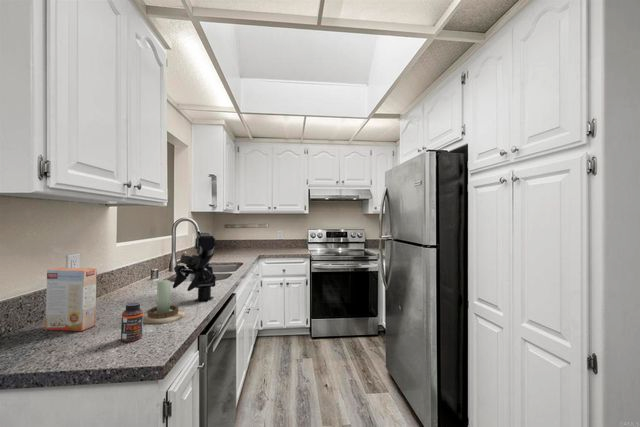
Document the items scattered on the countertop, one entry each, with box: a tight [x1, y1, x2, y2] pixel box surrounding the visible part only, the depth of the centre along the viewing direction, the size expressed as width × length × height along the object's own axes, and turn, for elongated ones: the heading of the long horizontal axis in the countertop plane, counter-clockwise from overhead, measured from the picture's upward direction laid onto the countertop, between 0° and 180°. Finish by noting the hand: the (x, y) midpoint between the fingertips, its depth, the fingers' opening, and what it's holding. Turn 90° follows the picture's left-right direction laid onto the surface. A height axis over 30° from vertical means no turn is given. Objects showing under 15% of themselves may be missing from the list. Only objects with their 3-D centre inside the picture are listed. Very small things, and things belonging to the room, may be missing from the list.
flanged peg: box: [154, 279, 173, 313], centre depth 117 cm, size 7×7×13 cm
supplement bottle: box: [120, 301, 144, 343], centre depth 95 cm, size 6×6×11 cm
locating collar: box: [143, 304, 186, 325], centre depth 117 cm, size 16×16×3 cm
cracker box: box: [44, 267, 98, 332], centre depth 104 cm, size 14×6×21 cm, turn 84°
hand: (180, 289), depth 124 cm, fingers open, 9 cm apart
